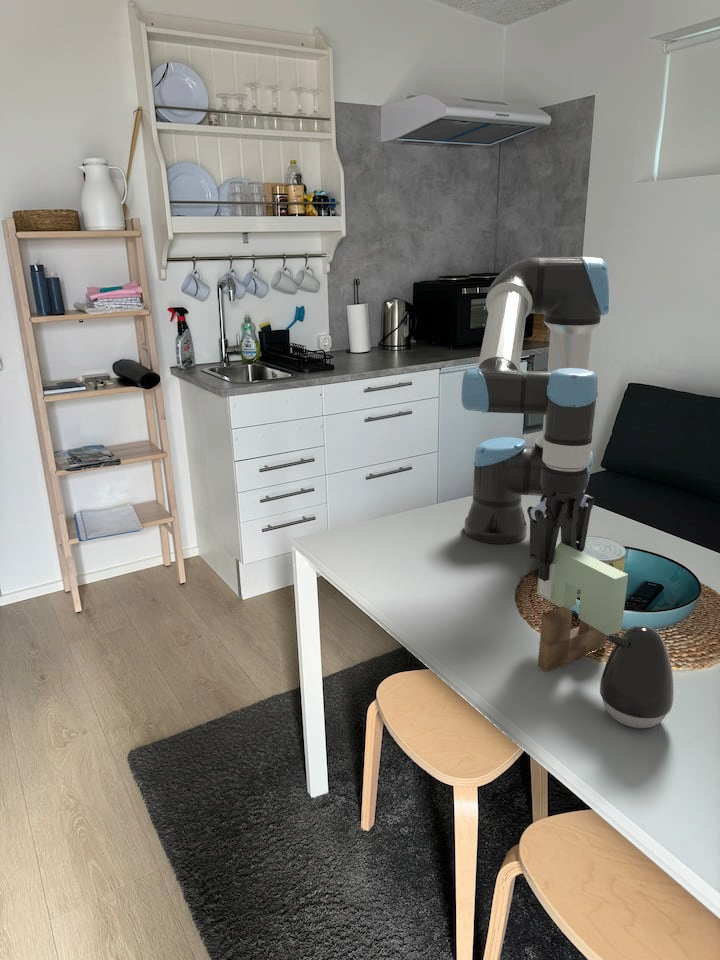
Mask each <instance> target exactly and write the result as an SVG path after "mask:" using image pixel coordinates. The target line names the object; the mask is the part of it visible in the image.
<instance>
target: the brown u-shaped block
mask: <svg viewBox="0 0 720 960" xmlns="http://www.w3.org/2000/svg"><path fill="white" fill-rule="evenodd" d="M572 618H573V612H572V611H571V610H569V609H567V608H566V607H564V606H563V607H558V608H555V609H552V610H549V611H547V612H544V613H541V625H540V635H539V649H538V659H537V666H538V667H539V668H540V669H542V670H543V671H544V672H546V673H547V672H549V671H552V670H555V669H557V668H558V667H561V666H565V665H567V664H569V663H571V662H572V663H573V662H574V661H577V660H579V659H581V658H584V657H586V656H585V655H586V654H588V653H589V652H592V651H595V650H597V649H600V648H603V647H605V648H606V645H607V639H608V636H607V635H606V634H604V633H602V632H601V631H599V630H597V629H595V628H594V627H592V626H590V625H589V624H587V623H585V622H584V621H582V620H580V619H579V626H577V627H574V628H572Z"/></svg>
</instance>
